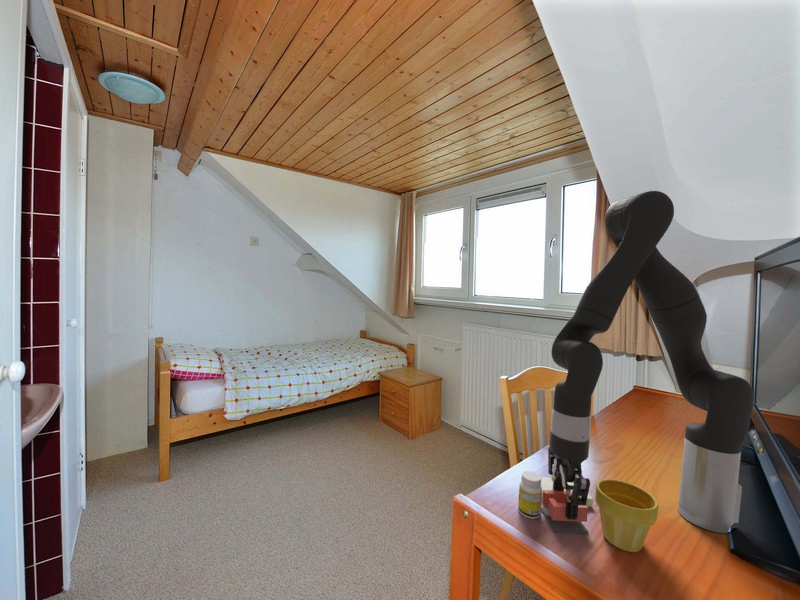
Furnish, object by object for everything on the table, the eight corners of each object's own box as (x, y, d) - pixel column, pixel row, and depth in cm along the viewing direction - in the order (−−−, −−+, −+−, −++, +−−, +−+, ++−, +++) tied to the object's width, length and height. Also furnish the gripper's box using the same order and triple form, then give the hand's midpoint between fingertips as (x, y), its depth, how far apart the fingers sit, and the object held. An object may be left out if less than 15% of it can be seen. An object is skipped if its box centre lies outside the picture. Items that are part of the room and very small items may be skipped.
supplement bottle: (522, 502, 81) (524, 467, 80) (543, 511, 78) (546, 475, 77) (514, 512, 77) (517, 476, 76) (536, 522, 74) (539, 484, 73)
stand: (574, 486, 88) (576, 459, 87) (592, 507, 80) (594, 477, 79) (531, 484, 88) (533, 457, 87) (544, 505, 80) (546, 475, 79)
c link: (573, 504, 77) (574, 491, 77) (586, 521, 72) (587, 507, 72) (542, 502, 77) (543, 489, 77) (553, 520, 72) (554, 506, 72)
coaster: (571, 510, 78) (571, 508, 78) (588, 533, 71) (588, 531, 71) (540, 509, 78) (540, 507, 78) (554, 532, 71) (554, 530, 71)
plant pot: (629, 521, 75) (633, 478, 75) (667, 560, 65) (672, 510, 64) (582, 521, 75) (585, 477, 74) (613, 560, 65) (617, 509, 64)
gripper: (607, 449, 66) (600, 533, 67) (571, 418, 81) (565, 489, 82) (568, 447, 66) (561, 532, 67) (538, 417, 81) (533, 487, 82)
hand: (564, 508), depth 75 cm, fingers closed on c link, 5 cm apart
